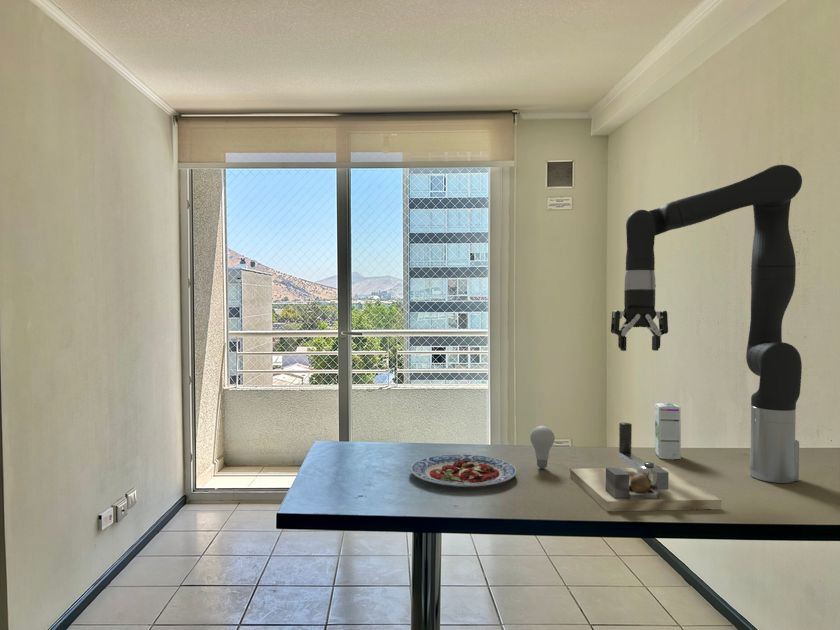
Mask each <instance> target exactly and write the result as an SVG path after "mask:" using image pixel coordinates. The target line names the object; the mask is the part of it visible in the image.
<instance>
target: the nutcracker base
mask: <svg viewBox="0 0 840 630" xmlns="http://www.w3.org/2000/svg"><path fill="white" fill-rule="evenodd" d="M661 468H662V469H664V470H665V471H667V472H669V478H668V490H657V489H655V488H654V487H652V486H651V480H650V479H648V480H649V481H650V489H649V491H648V492H647V493H635V492H634V491H633V490H632V488H631V486H630V481H631V478H632V477H633V476H635V475H637V470H635V469H634V468H633V467H601V468H600V467H597V468H596V467H595V468H593V467H592V468H591V467H589V468H570V469H569V470H570V471H569V478H571V479H572V480H573V481H574V482H575V483H576V484H577V485H578V486H579V487H580V488H581V489H582V490H583V491H584V492H585V493H586V494H587V495H589V496H590V497H591V498H592V499H593V500H594V501H595V502H596V503H597V504H598V505H600V507H601V508H603V509H604V510H605V512H637V511H638V512H639V511H640V512H643V511H644V512H645V511H647V512H648V511H652V512H653V511H695V510H696V509H711V510H722V499H721V498H720V497H718V496H716V495H714V494H713V493H711V492H709V491H708V490H705V489H704V488H702V487H700V486H699V485H697V484H696V483H693V482H692V481H690V480H689V479H687V478H685V477H684V476H682V475H680V474H678V473H677V472H675V471H672V469H669V468H668V467H661ZM690 509H692V510H690Z"/></svg>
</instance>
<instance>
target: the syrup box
mask: <svg viewBox="0 0 840 630" xmlns="http://www.w3.org/2000/svg"><path fill="white" fill-rule="evenodd" d="M681 422H682V421H681V407H680V406H679V405H677V404H676V403H671V402H659V403H658V402H656V403H655V404H654V453H655V455H656V456H657V458H659V459H662V460H674V459H680V460H682V458H681V456H682V454H681V453H682V451H681V450H682V449H681V447H682V445H681V444H682V442H681V441H682V438H681V437H682V435H681V434H682V432H681V427H682V426H681Z"/></svg>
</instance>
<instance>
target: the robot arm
mask: <svg viewBox="0 0 840 630" xmlns="http://www.w3.org/2000/svg"><path fill="white" fill-rule="evenodd" d="M802 185H803V178H802V175H801V172H799V170H798V169H797V168H796V167H793V166H791V165H788V164H776V165H772V166H770V167H767V168H766V169H765V170H763V171H760V172H758V173H756V174H754V175H751V176H750V177H747V178H745V179H743V180H739V181H737V182H733V183H731V184H729V185H725V186H722V187H719V188H716V189H715V188H714V189H713V190H712V189H711V190H709V191H704V192H701V193H698V194H694V195H690V196H687V197H682V198H680V199H677V200H674V201H671V202H669V203H666V204H664V205H663V206H660V207H657V208H654V209H652V210H651V209H650V210H647V209H637V210H634V211H633V212H632V213H631V214H629V216H628V217H627V219H626V221H625V222H626V223H625V231H626V255H625V275H624V292H623V293H624V295H623V296H624V297H623V298H624V300H623V306H624V309H623V311H622V310H621V311H620V310H612V312H611V323H610V333H611V334H614V335H616V336H617V337H618V338H617V339H618V340H617V341H618V345H617V346H618V349H619V350H620V351H623V352H625V351H627V336H626V335H627V333H628V332H629V331H630V330H631V329H633V328H647V330H649V332H650V333H651V334H652V336H651V350H652V351H655V352H656V351H657V352H658V351H659V349H660V348H661V337H662V335H666V334H668V333H669V321H668V311H667V310H659V311H658V310H657V311H656V308H655V307H656V287H657V285H656V284H657V283H656V273H655V269H656V268H655V262H656V261H655V257H656V256H655V240H656V239H655V237H656V236H658V235H661V234H664V233H667V232H668V231H672V230H677V229H681V228H686V227H688V226H692V225H696V224H700V223H703V222H705V221H707V220H712V219H714V218H717V217H719V216H721V215H724V214H727V213H730V212H732V211H736V210H739V209H742V208H746V207H750V206H752V208H753V220H754V221H753V222H754V224H753V225H754V231H753V240H752V248H751V249H752V250H751V265H750V324H749V330H748V331H749V332H748V338H747V346H746V354H745V356H746V358H745V360H746V365H747V367H748V369H749V370H750V371H751V373H753V374H754V375H756V376H758V377H759V383H758V384H759V386H758V389H757V390H756V392H754V393H753V394H752V395H751V397H750V398H751V399H750V452H749V453H750V456H749V458H750V459H749V461H750V462H749V468H750V469H749V474H750V476H751V477H753V478H755V479H757V480H761V481H764V482H770V483H777V484H778V483H779V484H790V483H793V482H799V481H800V441H799V440H797V439H796V423H797V422H796V419H797V418H796V411H797V402H798V400H799V398H800V394H801V387H802V386H801V385H802V384H801V383H802V373H803V372H802V369H803V368H802V367H803V366H802V365H803V364H802V357H801V354H800V351H798V348H796V347H795V346H793V344H790V343H787V342H783V341H782V340H783V338H782V337H783V336H782V334H783V333H782V329H783V328H782V327H783V319H784V315H785V313H786V310H787V308H788V307H789V304H790V302H791V299H792V297H793V295H794V291H795V287H796V278H797V277H796V275H797V273H796V272H797V271H796V270H797V268H796V266H797V265H796V263H797V262H796V255H795V249H794V245H793V241H792V237H791V235H790V234H791V233H790V229H789V228H790V226H789V221H790V219H789V218H790V208H791V202H792V200H793V199H794V198H795V197H796V196H797V194H798V193H799V192H800V190H801V188H802ZM622 318H624V320H625V321H624V322H623V323H622V324H621V327H620V323H621V322H620V321H621V319H622ZM655 318H657V320H658V325H657V324H656V322H655V321H654V319H655Z"/></svg>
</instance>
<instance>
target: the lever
mask: <svg viewBox="0 0 840 630" xmlns="http://www.w3.org/2000/svg"><path fill="white" fill-rule="evenodd" d="M618 425H619V426H618V427H619V428H618V429H619V432H618V433H619V434H618V437H619V438H618V444H619V445H618V453H619V460H621V461H623V462H624V463H626V464H627V465H629V466H630V468H634V469H635V470H637V475H639V474H640V475H644V476H645V477H647V478H648V479H650V480H651V486H652V487H654V488H655V489H657V490H668V478H669V472H667V471H665V470H664V469H662V468H663V467H661V466H659V465H657V464H655V463H654V462H651V461H645V460H644V459H641V458H640V457H638V456H636V455H635V454H633V453H632V439H633V438H632V437H633V436H632V427H633V426H632V425H633V424H632V423H630V422H619V424H618Z"/></svg>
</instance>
